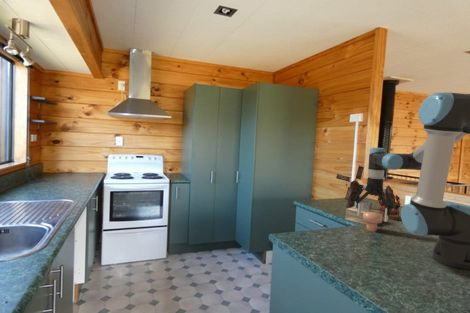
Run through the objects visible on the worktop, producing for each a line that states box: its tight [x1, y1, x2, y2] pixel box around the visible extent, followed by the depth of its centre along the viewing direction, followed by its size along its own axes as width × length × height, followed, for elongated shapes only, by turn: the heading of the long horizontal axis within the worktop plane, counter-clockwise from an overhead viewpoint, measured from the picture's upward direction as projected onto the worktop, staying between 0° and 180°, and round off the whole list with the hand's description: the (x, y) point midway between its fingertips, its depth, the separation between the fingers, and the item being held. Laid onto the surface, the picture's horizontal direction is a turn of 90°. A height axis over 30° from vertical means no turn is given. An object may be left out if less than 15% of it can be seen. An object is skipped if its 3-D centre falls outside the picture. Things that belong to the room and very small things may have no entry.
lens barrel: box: [354, 199, 373, 212], centre depth 167 cm, size 8×8×5 cm
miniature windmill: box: [335, 165, 367, 209], centre depth 195 cm, size 25×11×30 cm, turn 62°
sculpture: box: [377, 185, 402, 222], centre depth 176 cm, size 17×8×20 cm, turn 22°
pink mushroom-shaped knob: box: [363, 211, 383, 233], centre depth 149 cm, size 9×9×9 cm
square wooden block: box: [344, 206, 380, 225], centre depth 168 cm, size 14×14×6 cm
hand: (372, 217), depth 149 cm, fingers open, 13 cm apart
